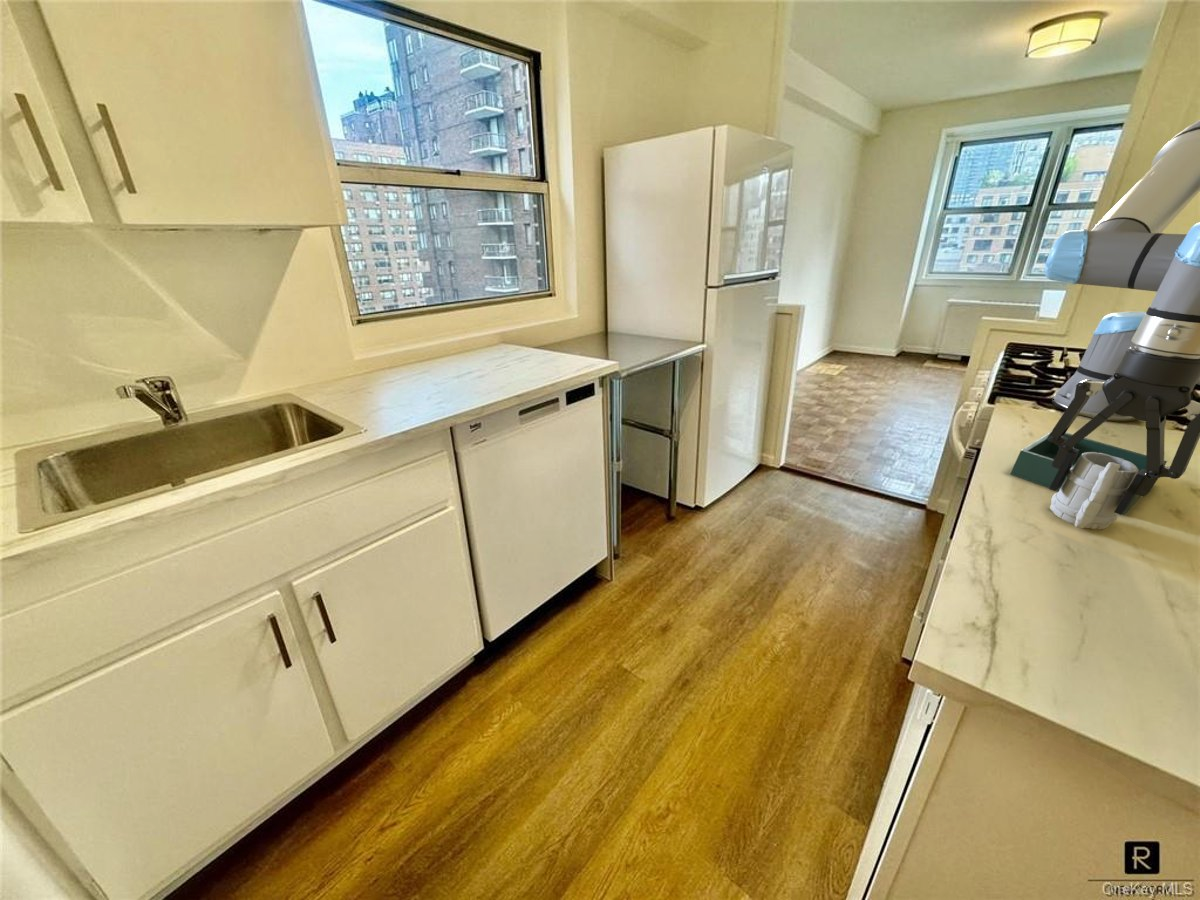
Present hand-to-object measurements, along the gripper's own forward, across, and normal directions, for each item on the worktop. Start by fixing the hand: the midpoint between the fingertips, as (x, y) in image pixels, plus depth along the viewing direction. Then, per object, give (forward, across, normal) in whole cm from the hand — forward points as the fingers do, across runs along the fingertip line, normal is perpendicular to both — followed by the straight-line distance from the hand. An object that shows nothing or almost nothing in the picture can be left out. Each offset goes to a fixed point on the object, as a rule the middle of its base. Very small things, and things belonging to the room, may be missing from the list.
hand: (1086, 498), depth 73 cm
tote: (+5, -4, +18) cm, 19 cm away
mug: (+4, 0, 0) cm, 4 cm away
